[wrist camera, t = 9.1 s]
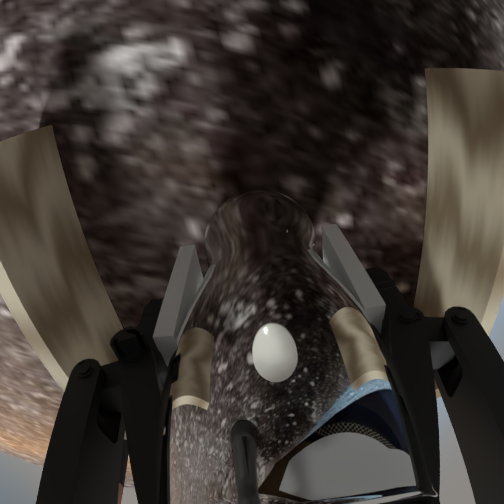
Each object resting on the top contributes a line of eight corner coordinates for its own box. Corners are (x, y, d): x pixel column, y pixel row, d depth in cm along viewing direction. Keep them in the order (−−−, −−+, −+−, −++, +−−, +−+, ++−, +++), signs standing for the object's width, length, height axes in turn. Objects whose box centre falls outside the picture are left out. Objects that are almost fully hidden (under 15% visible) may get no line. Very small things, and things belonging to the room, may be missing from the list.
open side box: (37, 130, 16) (-49, 164, 9) (439, 69, 15) (531, 76, 8) (126, 359, 25) (102, 437, 18) (422, 317, 24) (465, 387, 17)
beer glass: (301, 299, 20) (360, 544, 7) (190, 283, 19) (151, 549, 6) (336, 195, 17) (507, 457, 4) (207, 170, 16) (120, 498, 3)
